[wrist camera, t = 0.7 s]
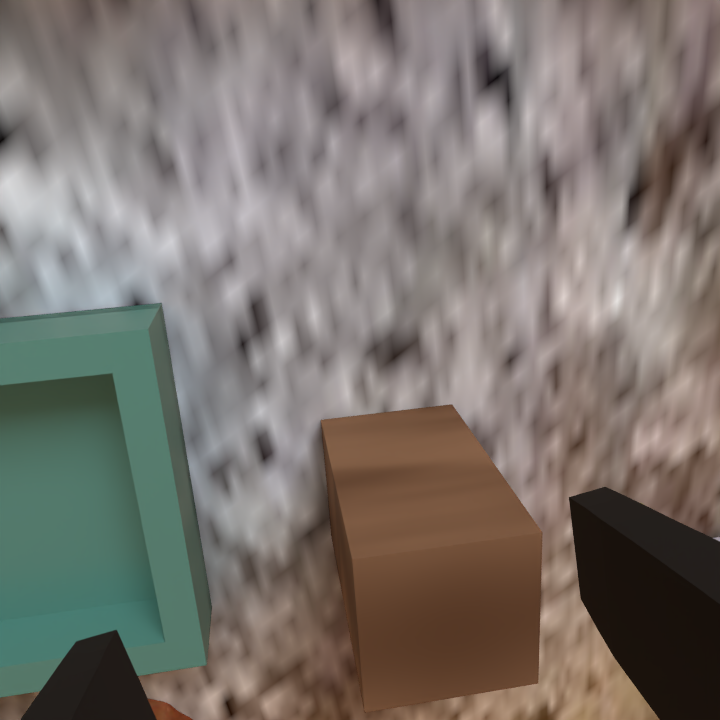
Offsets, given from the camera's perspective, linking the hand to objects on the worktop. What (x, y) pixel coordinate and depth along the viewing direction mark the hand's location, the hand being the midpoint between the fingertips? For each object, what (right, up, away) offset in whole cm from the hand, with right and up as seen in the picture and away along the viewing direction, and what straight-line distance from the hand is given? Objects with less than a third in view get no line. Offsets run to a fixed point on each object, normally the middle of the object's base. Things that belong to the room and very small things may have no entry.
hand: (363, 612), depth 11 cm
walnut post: (+1, 0, +11) cm, 11 cm away
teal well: (-10, 0, +9) cm, 13 cm away
